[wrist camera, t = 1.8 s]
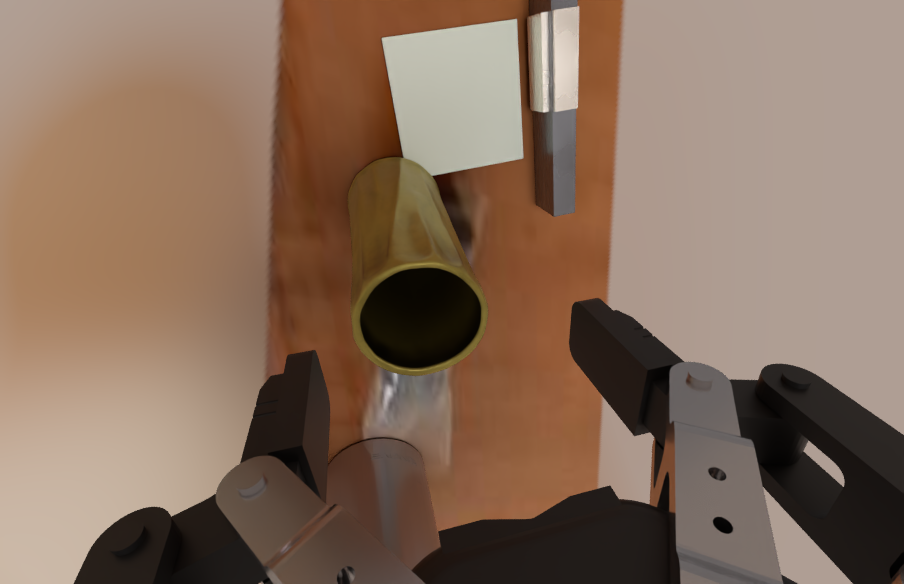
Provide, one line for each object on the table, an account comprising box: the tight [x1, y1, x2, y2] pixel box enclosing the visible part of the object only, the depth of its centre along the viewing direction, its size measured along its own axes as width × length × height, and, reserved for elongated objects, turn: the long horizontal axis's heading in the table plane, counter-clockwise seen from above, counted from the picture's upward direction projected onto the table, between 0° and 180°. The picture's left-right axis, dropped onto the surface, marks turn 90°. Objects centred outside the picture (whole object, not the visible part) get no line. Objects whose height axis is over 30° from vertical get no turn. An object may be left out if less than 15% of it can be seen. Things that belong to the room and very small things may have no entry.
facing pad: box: [381, 19, 523, 176], centre depth 26 cm, size 8×8×1 cm
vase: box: [348, 157, 488, 376], centre depth 22 cm, size 6×6×14 cm
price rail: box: [527, 0, 579, 217], centre depth 25 cm, size 14×2×3 cm, turn 7°
